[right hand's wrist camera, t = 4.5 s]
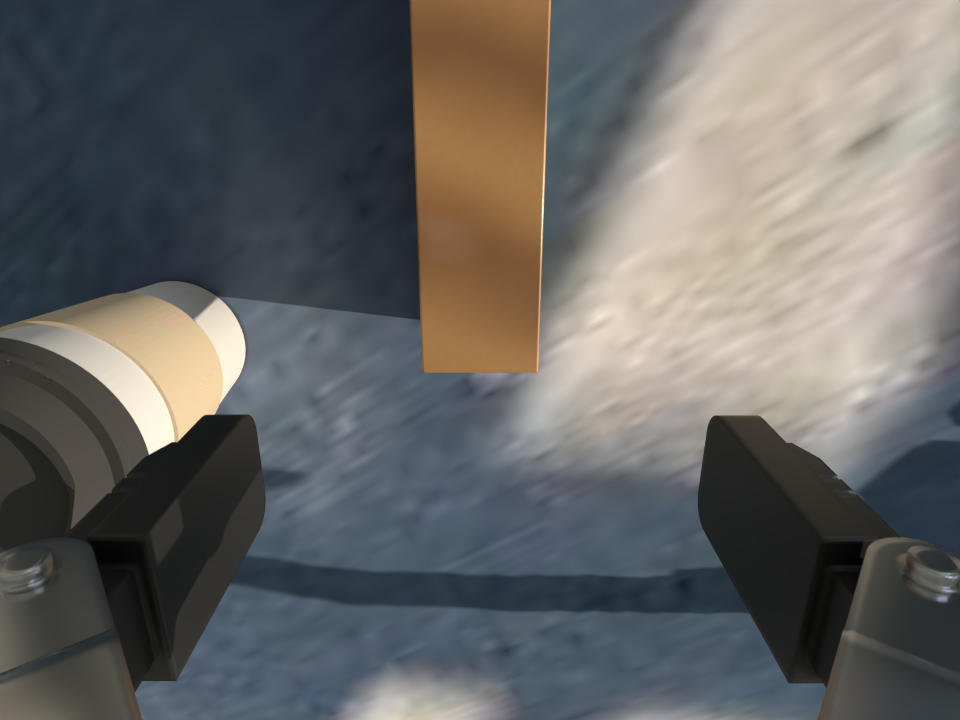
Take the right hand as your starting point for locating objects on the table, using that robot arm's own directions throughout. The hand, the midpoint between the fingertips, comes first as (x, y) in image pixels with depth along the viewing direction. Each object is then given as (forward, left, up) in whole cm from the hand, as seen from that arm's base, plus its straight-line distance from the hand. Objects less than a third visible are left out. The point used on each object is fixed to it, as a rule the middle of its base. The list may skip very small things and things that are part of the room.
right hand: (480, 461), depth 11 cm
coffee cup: (+11, +12, -22) cm, 28 cm away
